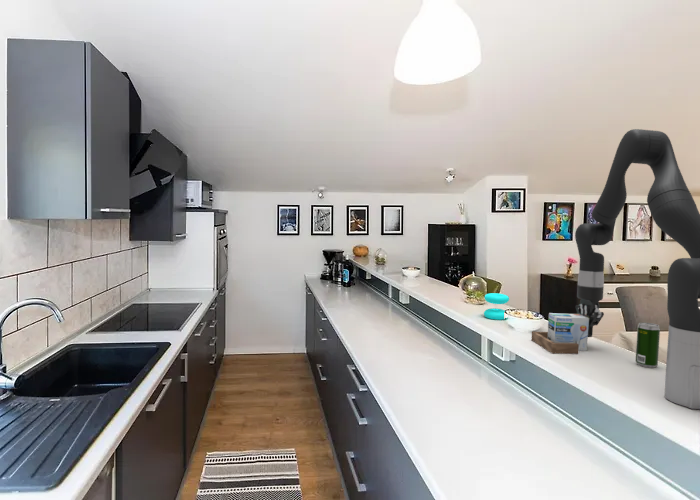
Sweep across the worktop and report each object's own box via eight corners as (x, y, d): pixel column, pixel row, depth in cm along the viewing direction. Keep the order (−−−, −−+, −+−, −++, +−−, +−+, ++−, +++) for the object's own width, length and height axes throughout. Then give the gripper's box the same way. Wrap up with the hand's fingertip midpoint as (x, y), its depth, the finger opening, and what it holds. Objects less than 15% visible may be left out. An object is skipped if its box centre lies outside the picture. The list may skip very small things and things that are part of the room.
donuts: (486, 296, 184) (482, 292, 194) (485, 319, 185) (482, 314, 195) (511, 297, 183) (506, 293, 193) (510, 321, 184) (505, 315, 194)
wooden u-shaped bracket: (578, 353, 139) (578, 344, 139) (552, 353, 139) (552, 343, 139) (554, 340, 154) (555, 331, 154) (531, 340, 154) (531, 331, 154)
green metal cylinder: (652, 369, 125) (655, 327, 124) (631, 364, 130) (634, 323, 129) (660, 366, 128) (663, 325, 127) (640, 361, 133) (643, 321, 132)
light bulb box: (553, 349, 143) (555, 316, 142) (546, 344, 150) (547, 312, 149) (588, 351, 142) (590, 318, 141) (578, 345, 149) (580, 313, 148)
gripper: (614, 287, 139) (611, 342, 140) (590, 281, 152) (587, 331, 153) (590, 287, 139) (587, 342, 140) (568, 281, 152) (566, 331, 153)
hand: (587, 336), depth 146 cm, fingers closed
